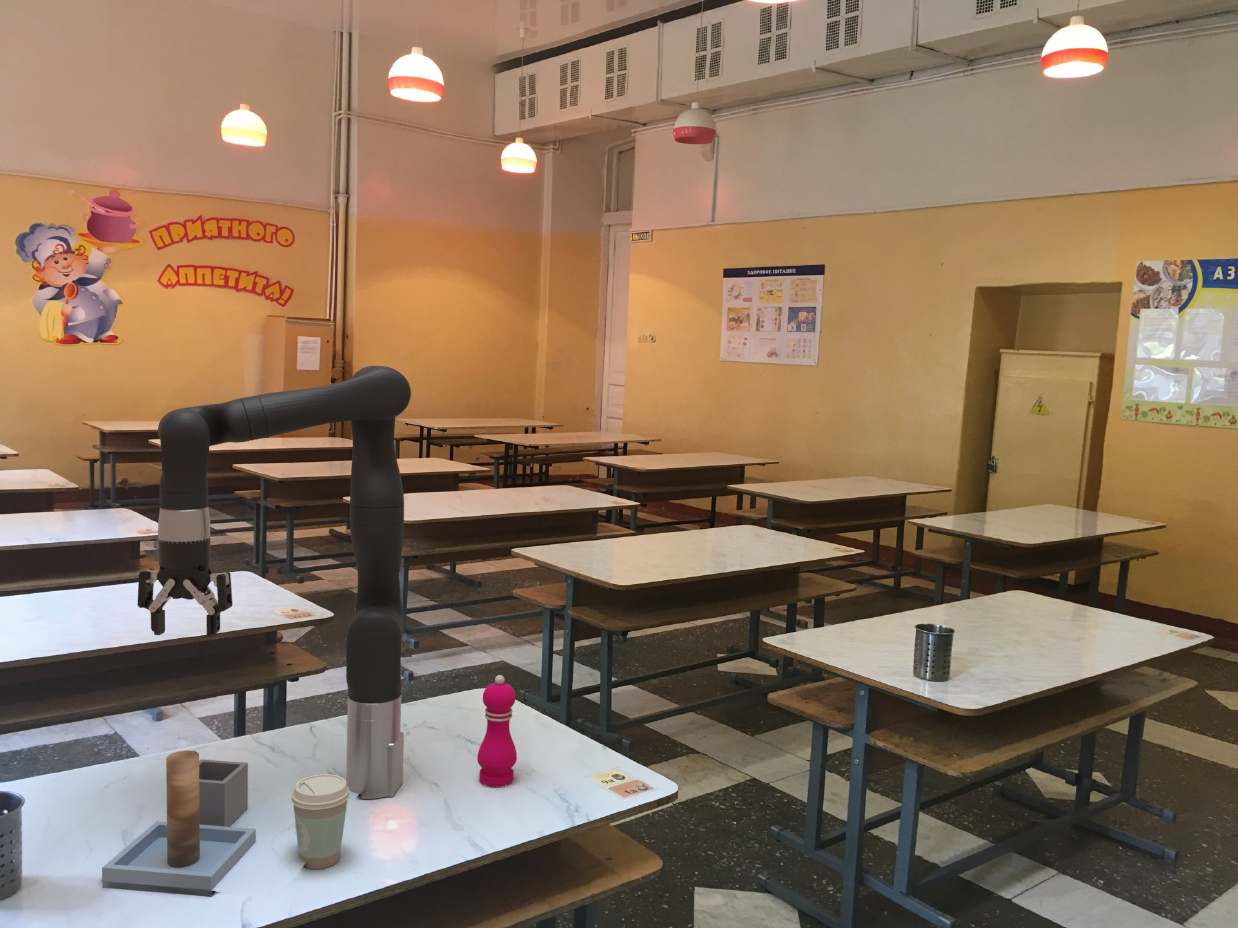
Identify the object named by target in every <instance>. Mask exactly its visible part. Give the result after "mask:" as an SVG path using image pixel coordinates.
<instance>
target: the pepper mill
mask: <svg viewBox="0 0 1238 928" xmlns="http://www.w3.org/2000/svg"><path fill="white" fill-rule="evenodd" d="M516 697H517V696H516V691H515V689H514V687H512V686H511V685H510V684H509V683H507V682H505V676H503V675H502V674H498V675H496V676H495V678H494V682H492V683H491V684H489V685H487V686H486V687H485V689H484V691H483V693H482V702H483V705H484V706H485V709H484V713H485V714H484V718H485V719H486V731H485V735H484V738H483V740H482V742H481V744H480V746H479V748H478V751H477V757H476V758H477V761H476V762H477V764H478V765H479V767H480V768H481V769H480V770H479V782H480V784H482V785H483V786H485V785H486V786H485V787H490V788H502V787H501V786H504V787H506V786H505V785H507V786H509V785H511V784H512V783H513V782H512V781H514V776H515V775H514V774H515V773H514V769H513V767H514V766H515V765H516V762H517V759H518V757H517V749H516V745H515V743H514V740H513V738H512V735H511V734H512V733H511V730H510V722H511V721H510V720H511V719H512V718H513V714H512V713H513V708H512V707H513V706H514V704H515V703H516V700H517V699H516ZM511 782H512V783H511ZM510 783H511V784H510ZM508 784H509V785H508Z"/></svg>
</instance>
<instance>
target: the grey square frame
mask: <svg viewBox="0 0 1238 928" xmlns="http://www.w3.org/2000/svg"><path fill="white" fill-rule="evenodd" d="M248 783H249V763H248V762H243V761H242V762H241V761H240V762H239V761H229V760H227V761H226V760H213V759H203V758H201V759H199V814H200V825H211V826H223V827H232V826H233V824H235V823H236V822H237V821H238V819H240V818H241V817H242V816H243V814H245V813H246V812H247V810H248V809H249V808H248V807H249V805H248V804H249V803H248V801H249V799H248V796H249V795H248V794H249V793H248V792H249V789H248V788H249V787H248V786H249V784H248Z"/></svg>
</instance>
